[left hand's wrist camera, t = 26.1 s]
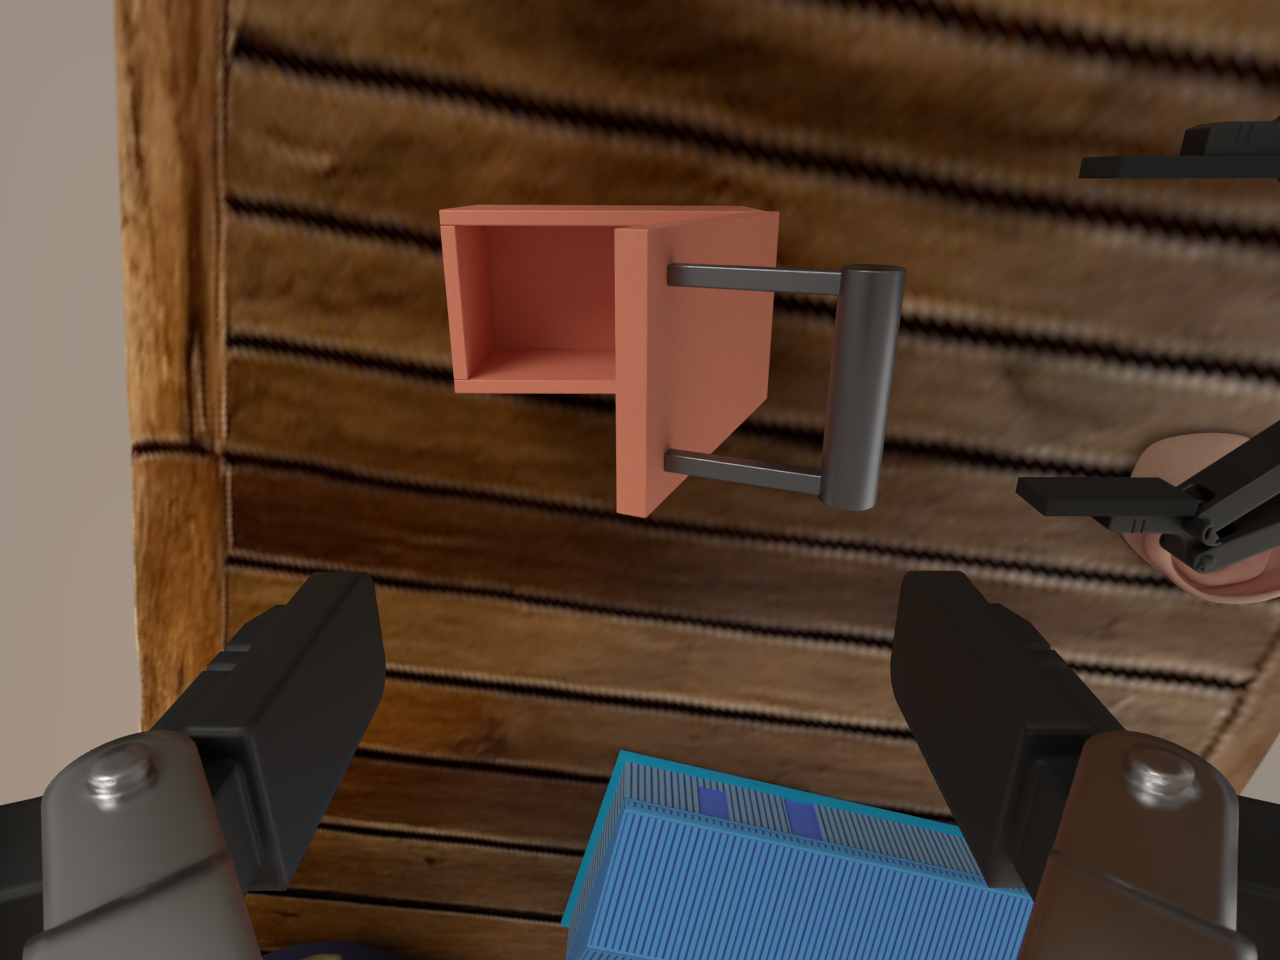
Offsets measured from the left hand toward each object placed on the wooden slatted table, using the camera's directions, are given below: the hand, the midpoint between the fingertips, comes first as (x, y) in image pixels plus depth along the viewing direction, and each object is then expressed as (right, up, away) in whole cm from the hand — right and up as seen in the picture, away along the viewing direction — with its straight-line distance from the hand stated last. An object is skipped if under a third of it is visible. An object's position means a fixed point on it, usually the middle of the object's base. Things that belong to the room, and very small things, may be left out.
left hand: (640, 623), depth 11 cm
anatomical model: (+41, 0, +43) cm, 59 cm away
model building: (+14, -36, +57) cm, 69 cm away
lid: (+3, +8, +21) cm, 23 cm away
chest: (-2, +15, +37) cm, 40 cm away
